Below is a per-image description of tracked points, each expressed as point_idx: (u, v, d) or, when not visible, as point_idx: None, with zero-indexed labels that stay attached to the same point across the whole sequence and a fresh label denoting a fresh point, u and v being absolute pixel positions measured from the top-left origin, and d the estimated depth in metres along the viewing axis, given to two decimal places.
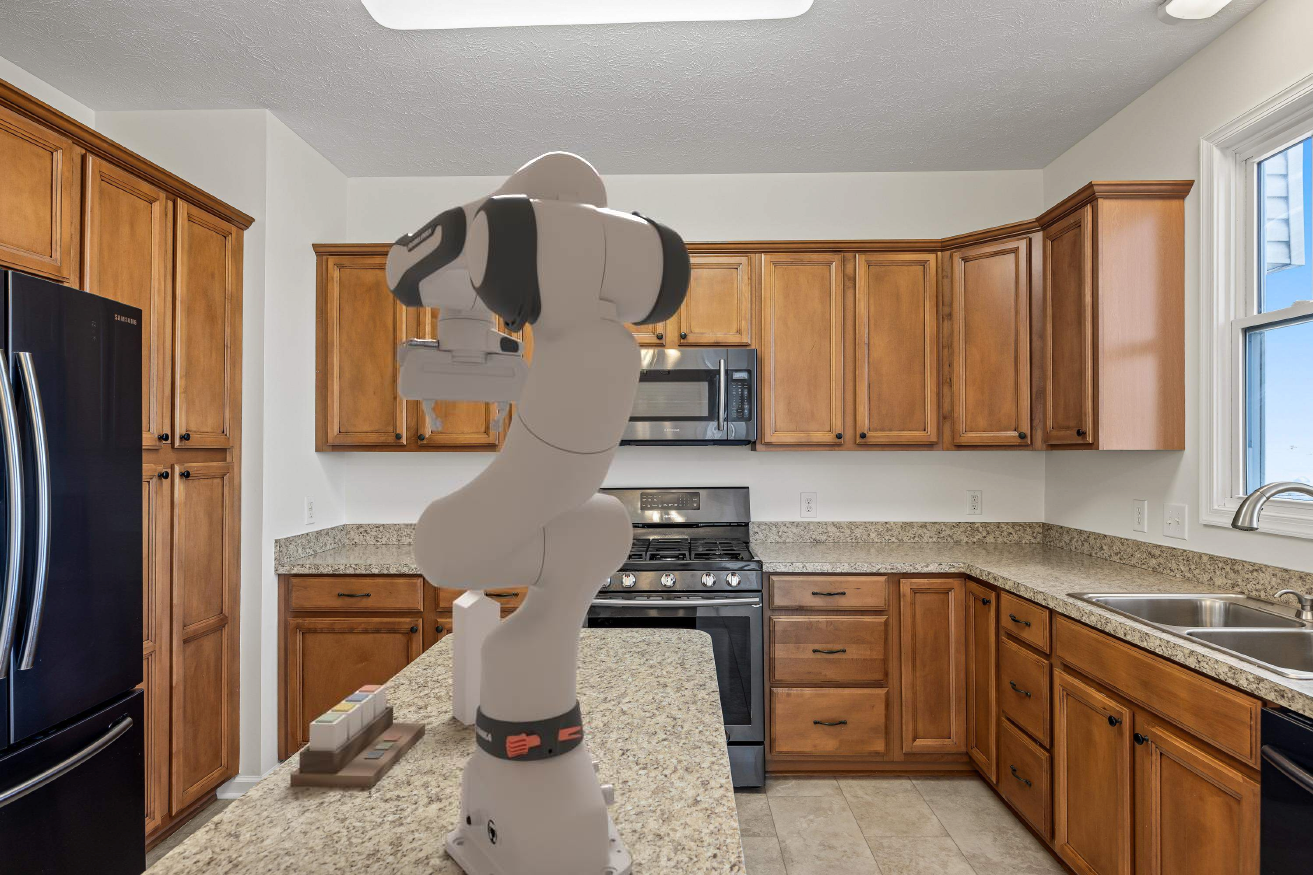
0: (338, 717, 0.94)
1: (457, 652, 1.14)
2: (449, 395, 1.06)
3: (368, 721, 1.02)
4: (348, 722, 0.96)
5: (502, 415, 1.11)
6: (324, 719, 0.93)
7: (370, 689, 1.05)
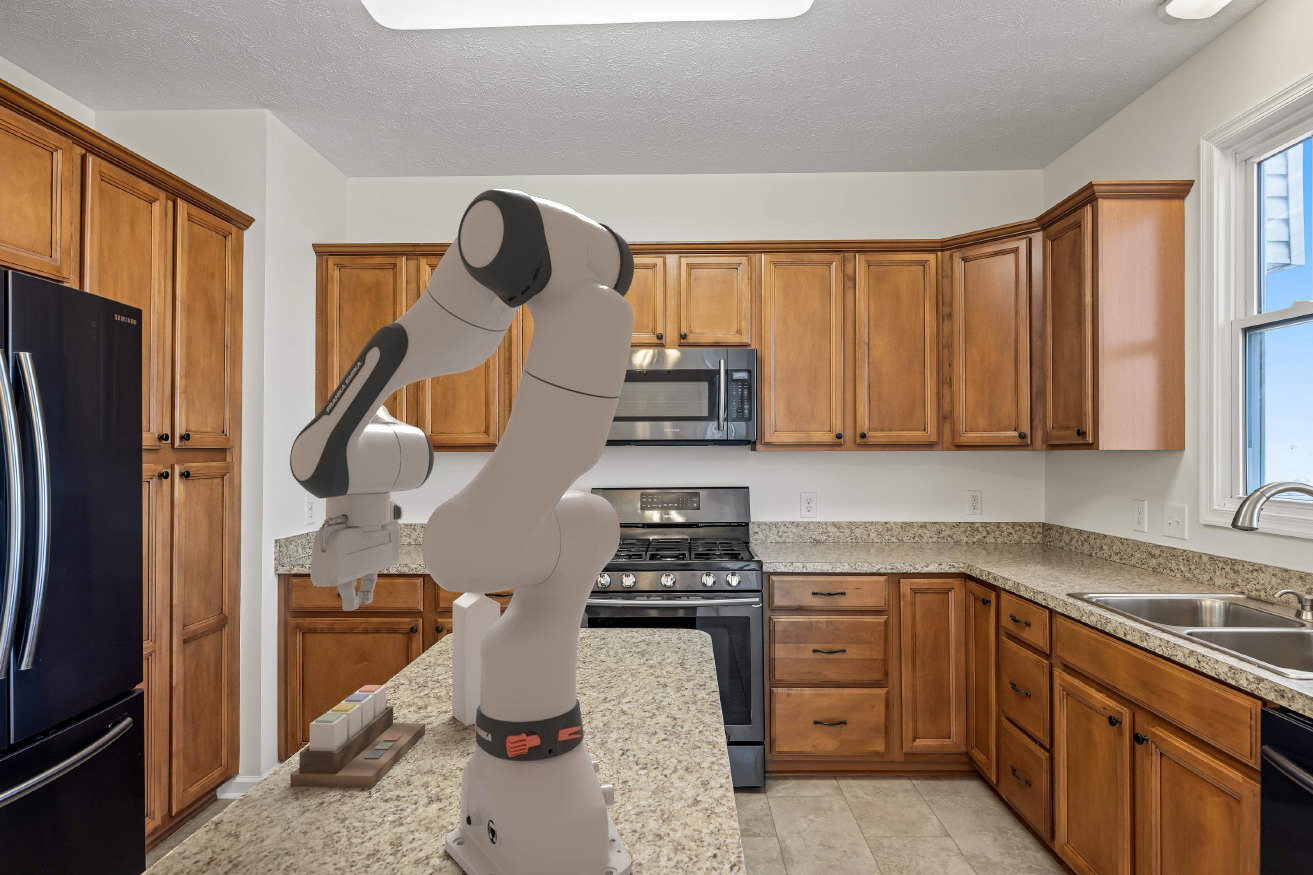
0: (338, 717, 0.94)
1: (457, 652, 1.14)
2: (360, 574, 0.99)
3: (368, 721, 1.02)
4: (348, 722, 0.96)
5: (373, 586, 1.05)
6: (324, 719, 0.93)
7: (370, 689, 1.05)
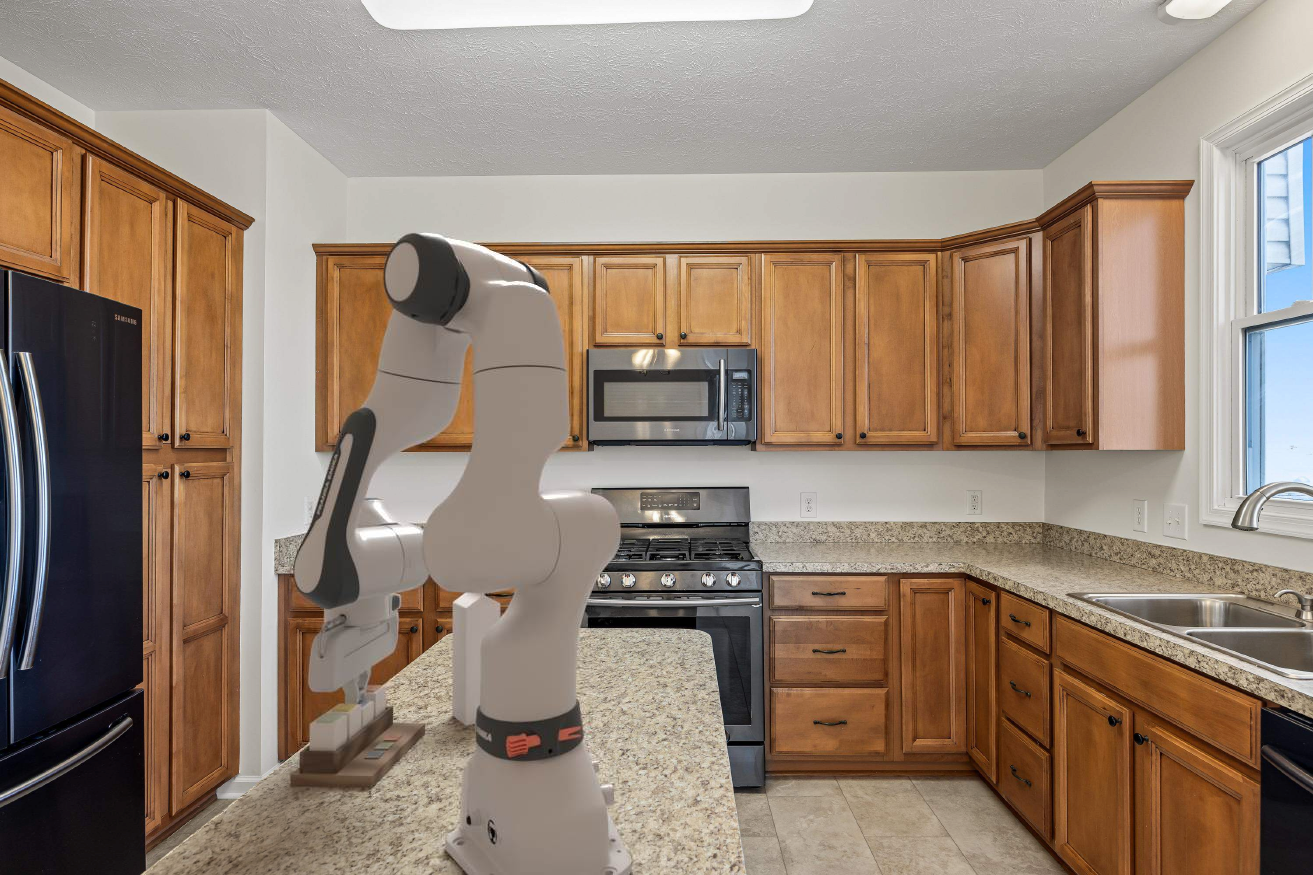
0: (338, 717, 0.94)
1: (457, 652, 1.14)
2: (358, 672, 0.99)
3: None
4: (348, 722, 0.96)
5: (367, 682, 1.04)
6: (324, 719, 0.93)
7: (370, 689, 1.05)
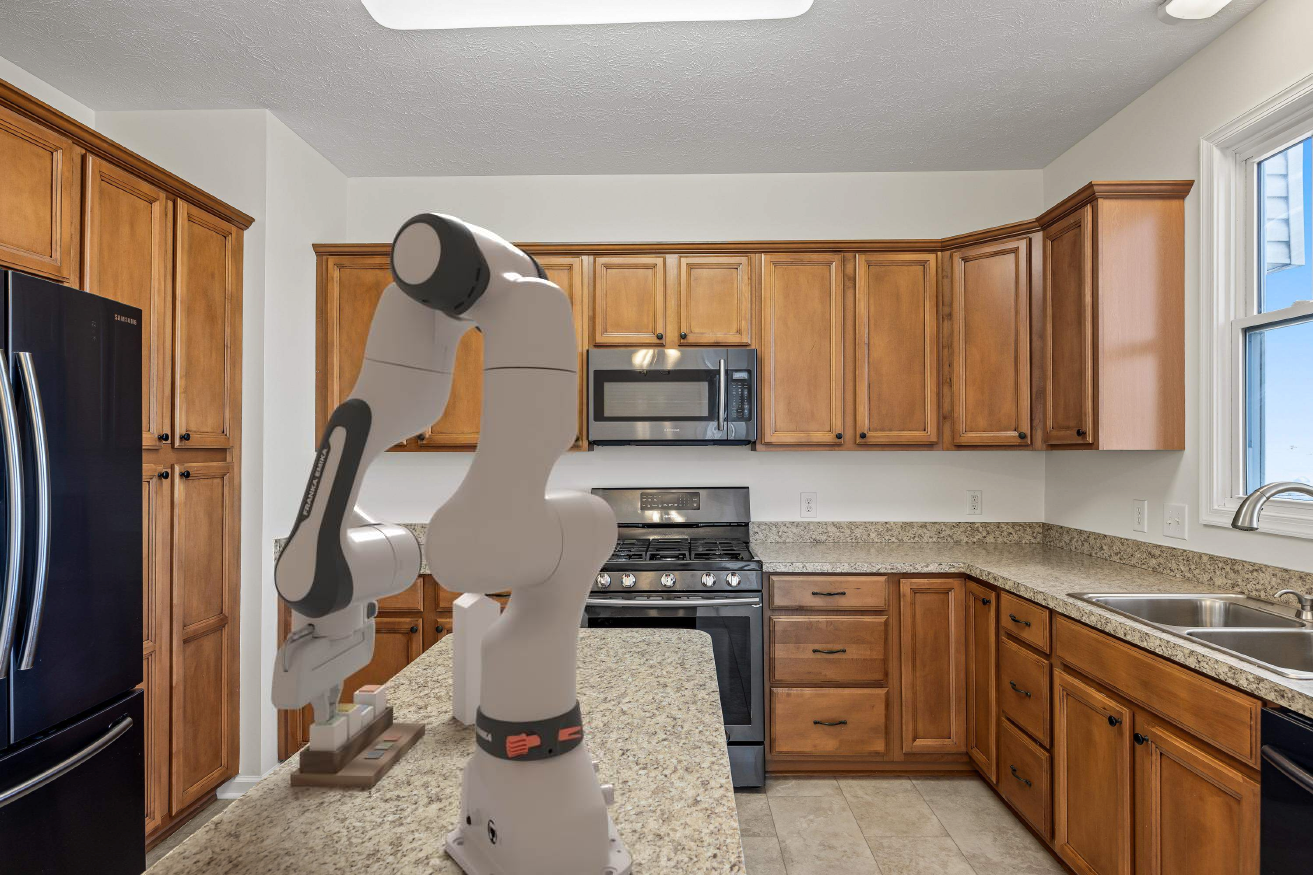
0: (338, 719, 0.94)
1: (457, 652, 1.14)
2: (327, 687, 0.91)
3: None
4: (348, 722, 0.96)
5: (338, 696, 0.96)
6: None
7: (370, 689, 1.05)
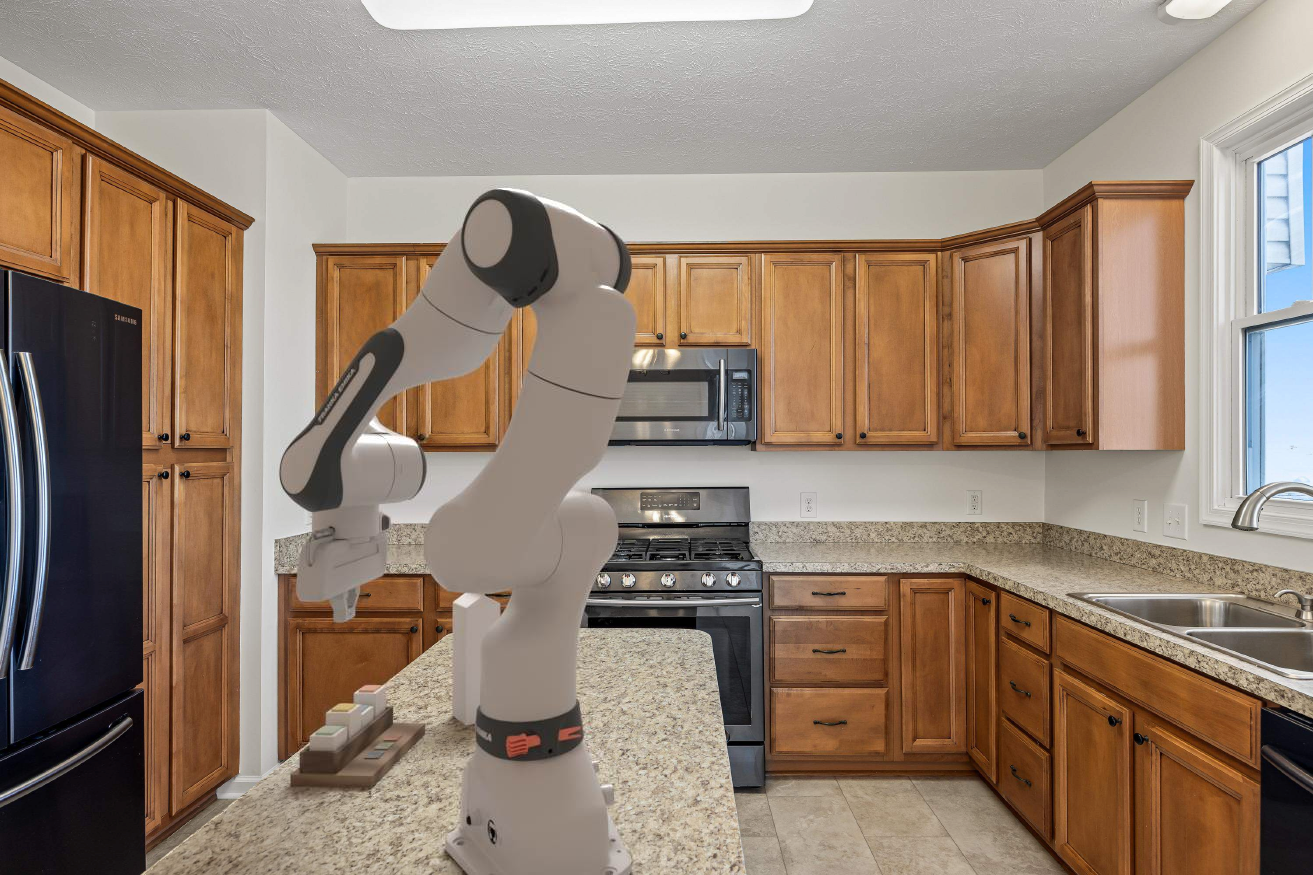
0: (338, 729, 0.94)
1: (457, 652, 1.14)
2: (347, 587, 0.97)
3: None
4: (348, 722, 0.96)
5: (355, 600, 1.01)
6: (324, 731, 0.93)
7: (370, 689, 1.05)
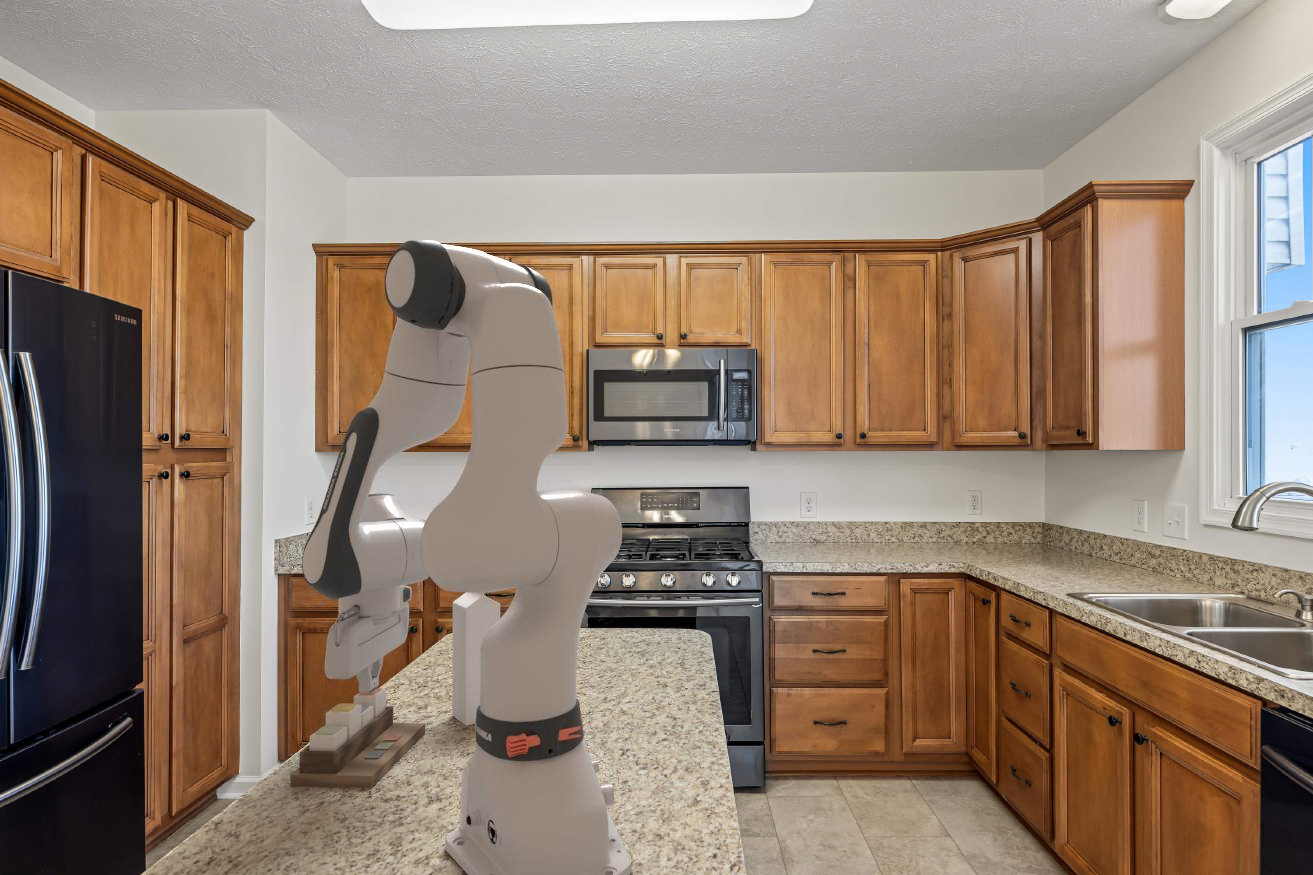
0: (338, 729, 0.94)
1: (457, 652, 1.14)
2: (371, 661, 1.03)
3: None
4: (348, 722, 0.96)
5: (379, 670, 1.08)
6: (324, 731, 0.93)
7: (370, 692, 1.05)
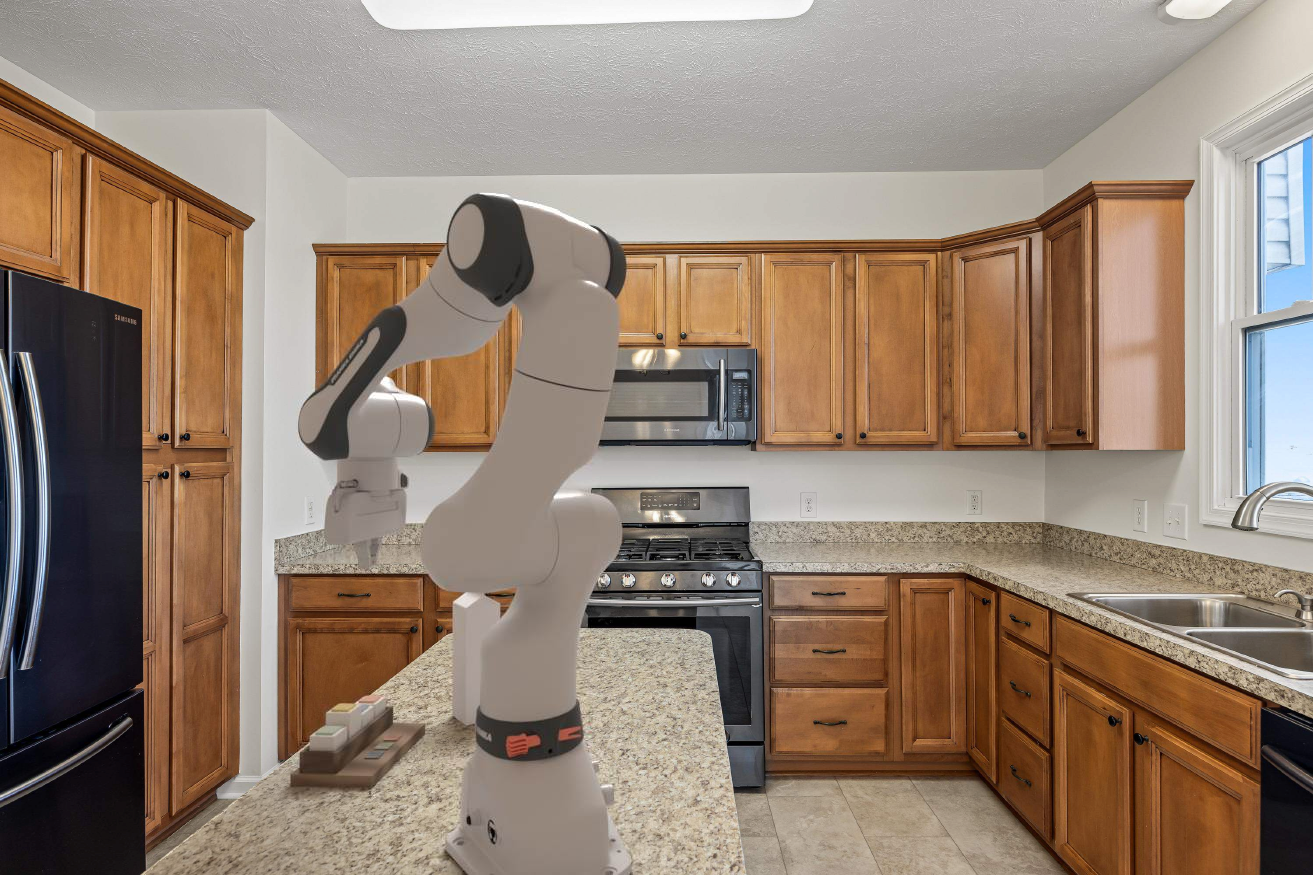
0: (338, 729, 0.94)
1: (457, 652, 1.14)
2: (369, 535, 1.06)
3: None
4: (348, 722, 0.96)
5: (378, 550, 1.10)
6: (324, 731, 0.93)
7: (370, 700, 1.05)
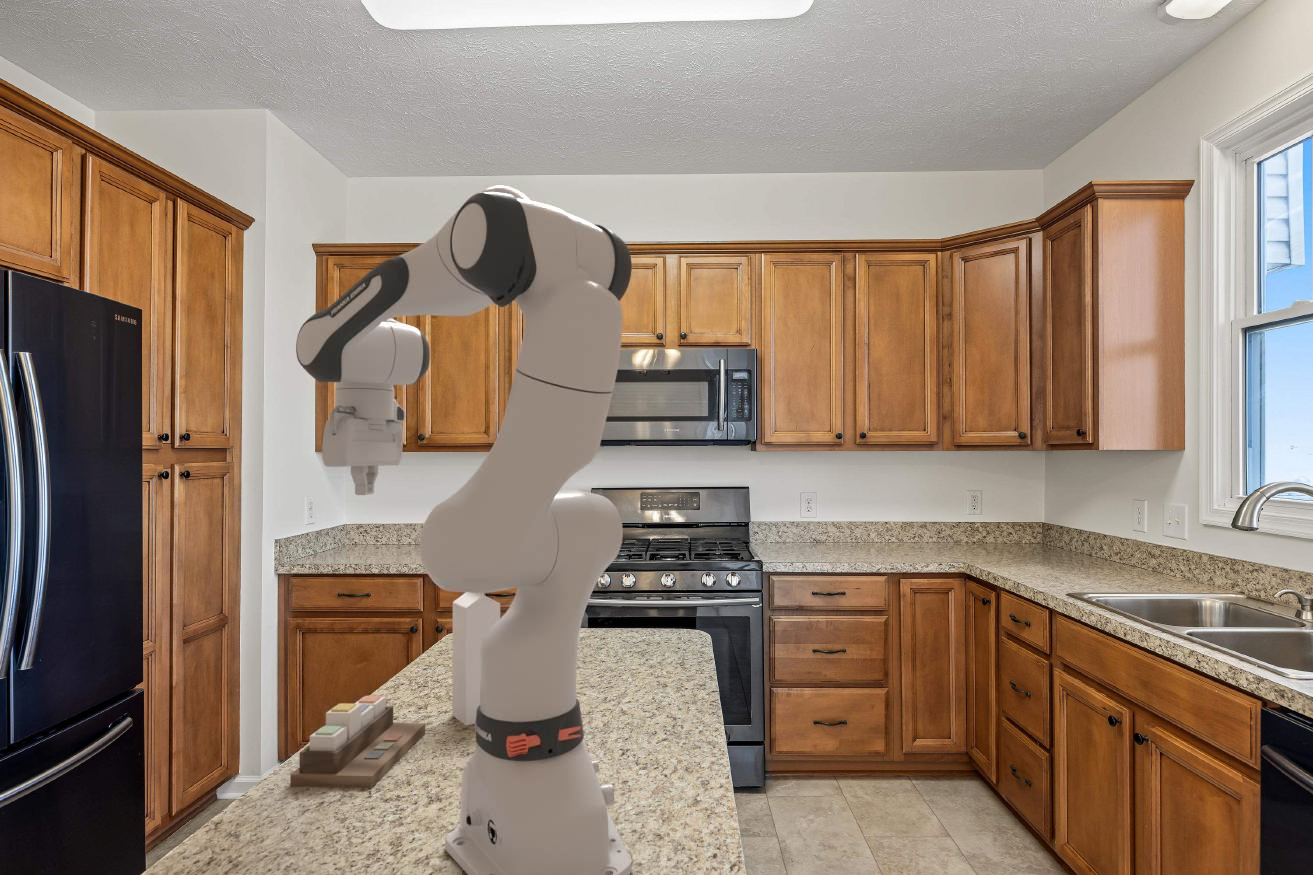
0: (338, 729, 0.94)
1: (457, 652, 1.14)
2: (366, 462, 1.09)
3: None
4: (348, 722, 0.96)
5: (374, 479, 1.13)
6: (324, 731, 0.93)
7: (370, 700, 1.05)
